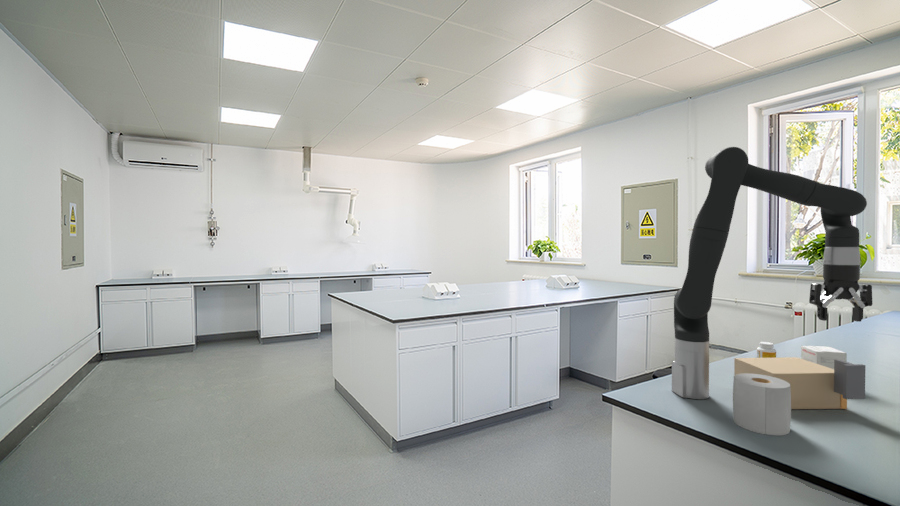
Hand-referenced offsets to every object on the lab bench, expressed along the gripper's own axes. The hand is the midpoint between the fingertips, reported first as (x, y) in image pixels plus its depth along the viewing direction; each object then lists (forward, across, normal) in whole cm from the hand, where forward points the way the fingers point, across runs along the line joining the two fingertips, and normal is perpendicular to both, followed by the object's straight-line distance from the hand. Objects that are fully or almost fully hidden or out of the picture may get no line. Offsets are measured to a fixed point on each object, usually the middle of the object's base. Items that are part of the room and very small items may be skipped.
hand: (839, 320), depth 118 cm
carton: (+25, -10, +6) cm, 27 cm away
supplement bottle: (+25, 0, +33) cm, 42 cm away
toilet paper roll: (+25, -28, -15) cm, 41 cm away
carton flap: (+24, -8, -5) cm, 26 cm away
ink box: (+25, +10, +21) cm, 34 cm away
